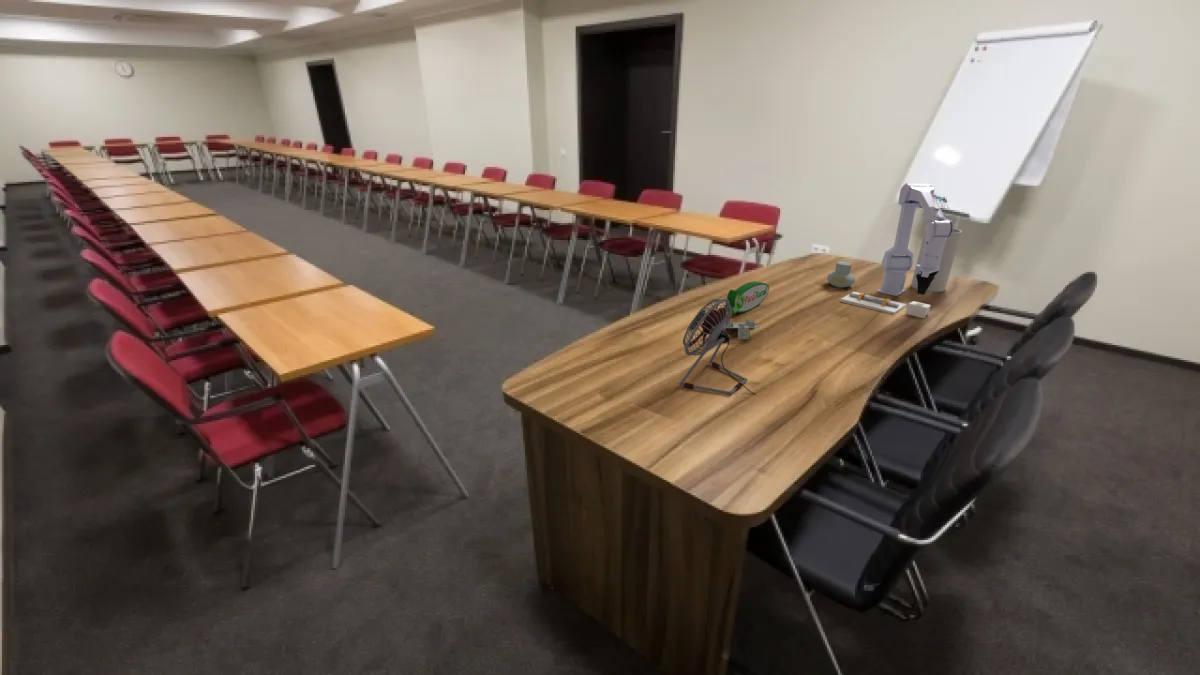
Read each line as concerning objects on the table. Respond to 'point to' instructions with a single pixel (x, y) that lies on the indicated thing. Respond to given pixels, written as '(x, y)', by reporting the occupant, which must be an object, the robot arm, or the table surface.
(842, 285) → the air freshener
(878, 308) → the rail board
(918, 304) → the block
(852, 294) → the din rail
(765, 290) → the sign
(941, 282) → the cylinder vase
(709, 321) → the desk fan
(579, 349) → the table surface
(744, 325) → the metal bracket
